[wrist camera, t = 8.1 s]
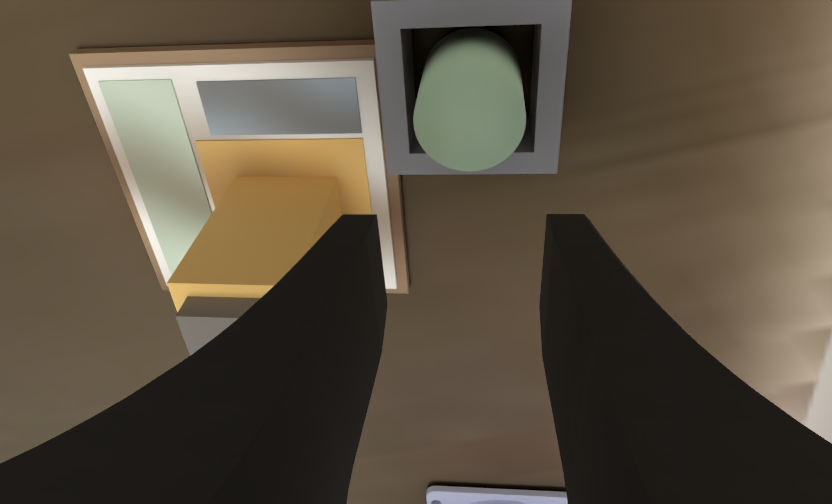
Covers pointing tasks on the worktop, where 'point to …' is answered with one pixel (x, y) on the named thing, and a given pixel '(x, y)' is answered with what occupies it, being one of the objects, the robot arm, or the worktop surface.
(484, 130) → the button
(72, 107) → the worktop surface
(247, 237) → the block
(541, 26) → the button housing
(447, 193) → the worktop surface
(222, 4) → the worktop surface
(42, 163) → the worktop surface
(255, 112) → the compartment tray
